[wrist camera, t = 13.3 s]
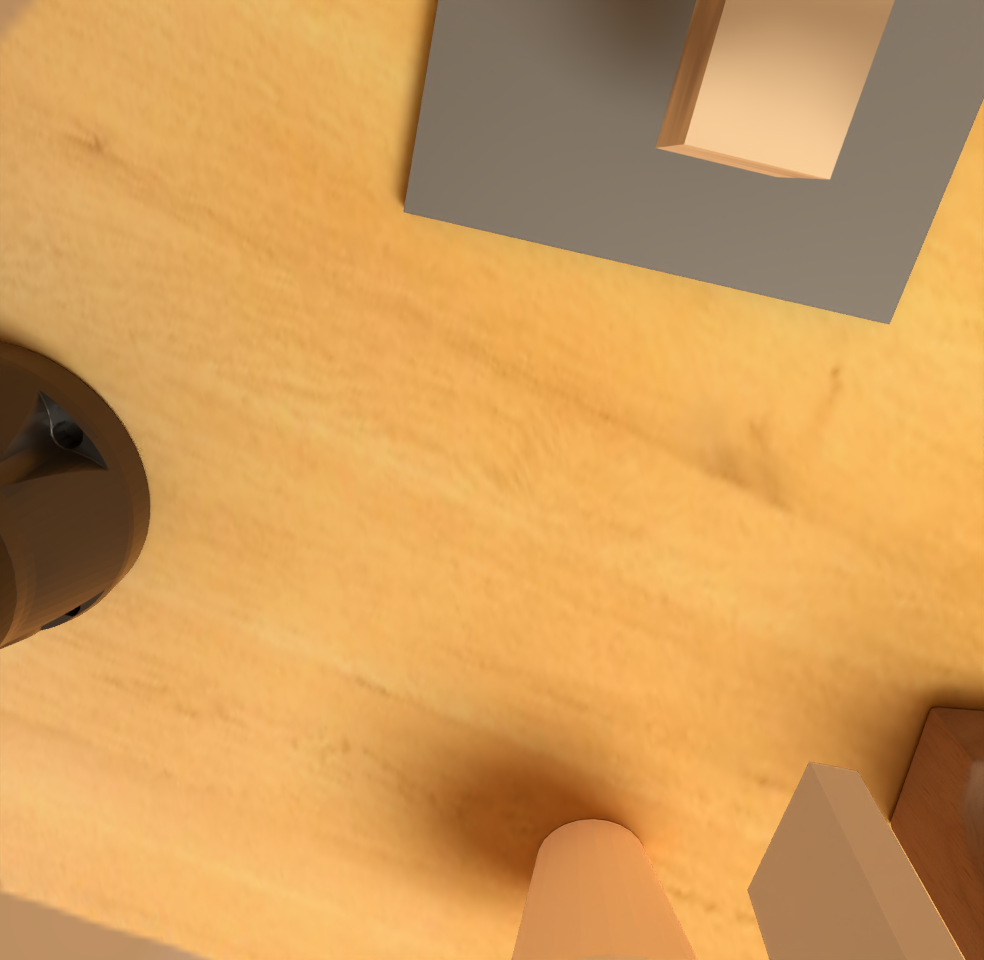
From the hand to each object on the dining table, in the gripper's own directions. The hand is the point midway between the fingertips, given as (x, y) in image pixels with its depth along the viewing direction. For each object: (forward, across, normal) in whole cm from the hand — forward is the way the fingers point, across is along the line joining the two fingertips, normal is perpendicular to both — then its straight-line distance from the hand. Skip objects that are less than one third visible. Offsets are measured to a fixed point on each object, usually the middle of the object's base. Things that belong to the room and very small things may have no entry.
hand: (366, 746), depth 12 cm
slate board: (+27, +7, +15) cm, 31 cm away
